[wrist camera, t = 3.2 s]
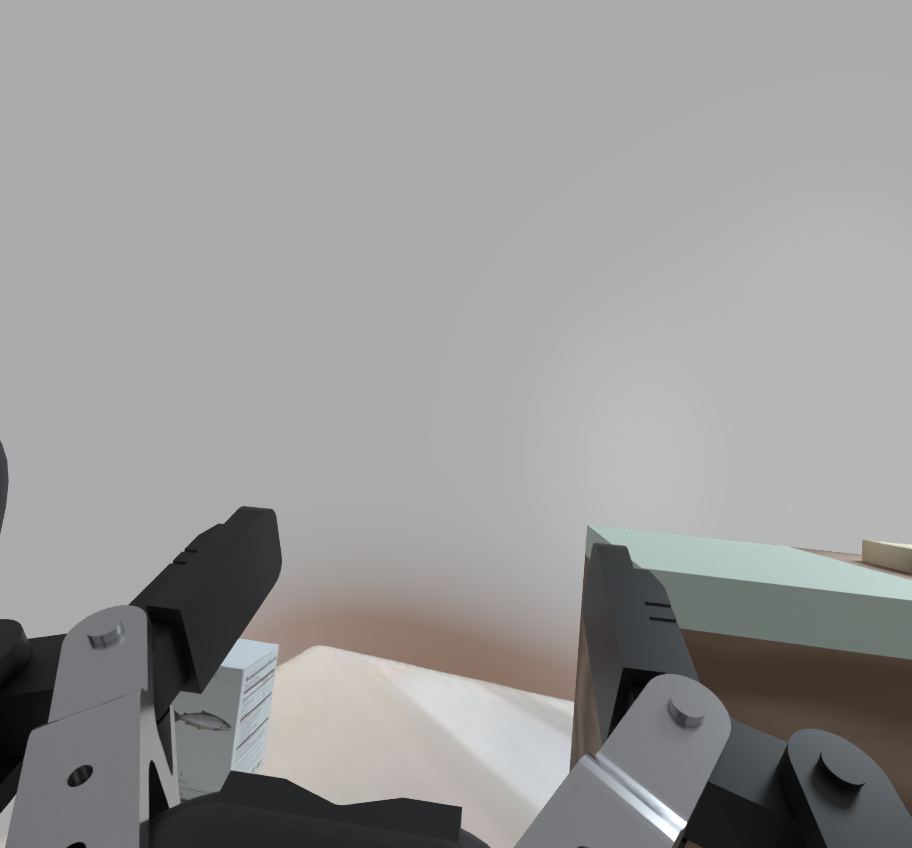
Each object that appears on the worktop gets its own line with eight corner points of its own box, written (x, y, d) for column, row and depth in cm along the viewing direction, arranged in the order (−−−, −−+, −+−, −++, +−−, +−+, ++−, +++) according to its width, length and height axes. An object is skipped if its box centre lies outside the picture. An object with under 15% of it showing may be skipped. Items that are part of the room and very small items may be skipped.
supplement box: (151, 797, 46) (171, 657, 47) (201, 752, 53) (217, 632, 54) (225, 812, 45) (243, 668, 46) (266, 764, 52) (281, 641, 53)
